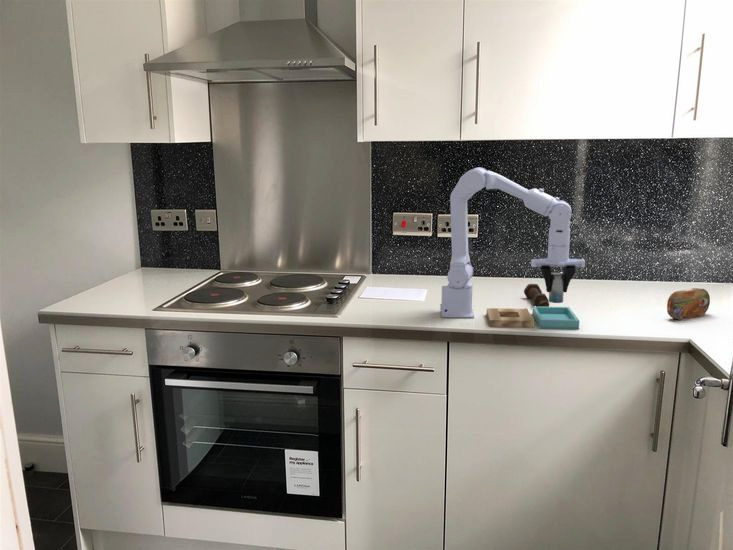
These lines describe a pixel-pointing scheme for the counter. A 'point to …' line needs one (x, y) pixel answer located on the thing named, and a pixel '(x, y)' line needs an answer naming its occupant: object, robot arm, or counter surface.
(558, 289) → the pin
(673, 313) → the tin
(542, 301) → the bolt
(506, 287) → the counter surface
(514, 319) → the wooden socket board
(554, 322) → the tray
